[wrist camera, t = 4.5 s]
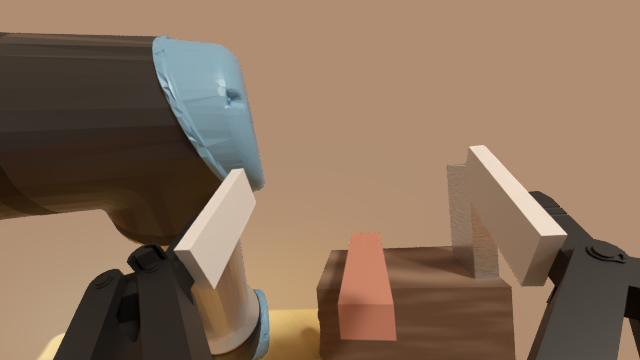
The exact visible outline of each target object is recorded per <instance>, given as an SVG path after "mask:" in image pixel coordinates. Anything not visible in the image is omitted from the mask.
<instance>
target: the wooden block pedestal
mask: <svg viewBox="0 0 640 360" xmlns="http://www.w3.org/2000/svg"><path fill="white" fill-rule="evenodd" d="M383 253H384V258H385V263H386V268H387V273H388V279H389V284H390V289H391V294H392V299H393V304H394V315H395V328H396V340H397V341H392V340H350V339H341V336H340V325H339V314H338V300H339V295H340V290H341V285H342V280H343V275H344V270H345V264H346V259H347V254H348V250H332V251H331V253H330V255H329V258H328V261H327V263H326V266H325V268H324V271H323V274H322V276H321V279H320V281H319V284H318V286H317V299H318V310H319V321H320V331H321V342H322V352H323V360H515V342H514V325H513V308H512V290H511V286H510V285H508V284H507V283H506V282H505V281H504V280H503V279H501V278H500V277H499V279H475V278H474V277H473V276H472V275H471V274H470V273H469V272H468V271H467V270H466V269H465V268H464V267H463V266H462V264H461V263H460V262H459V261H458V260H457V259H456V258H455V257H454V256H453V252H452V246H445V247H419V248H418V247H416V248H388V249H383Z"/></svg>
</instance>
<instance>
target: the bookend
mask: <svg viewBox="0 0 640 360" xmlns="http://www.w3.org/2000/svg"><path fill="white" fill-rule="evenodd" d="M465 168H466V164H458V165H447V178H448V192H449V208H450V223H451V237H452V252H453V256H454V257H455V258H456V259H457V260H458V261H459V262H460V263H461V264H462V266H463V267H464V268H465V269H466V270H467V271H468V272H469V273H470V274H471V275H472V276H473V277H474V278H475V279H499V265H498V248H497V245H496V243H495V242H494V240H493V238H492V237H491V235H490V233H489V232H488V230H487V228H486V227H485V225H484V223H483V222H482V220H481V218H480V217H479V215H478V213H477V211H476V210H475V208H474V206H473V205H472V203H471V201H470V200H469V198H468V196H467V195H466V193H465V191H464V190H463V188H462V187H463V181H464V174H465Z"/></svg>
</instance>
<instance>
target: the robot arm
mask: <svg viewBox="0 0 640 360" xmlns="http://www.w3.org/2000/svg"><path fill="white" fill-rule="evenodd" d="M264 183H265V182H264V175H263V170H262V165H261V160H260V155H259V151H258V145H257V141H256V136H255V131H254V127H253V121H252V116H251V112H250V107H249V102H248V98H247V93H246V88H245V83H244V79H243V75H242V70H241V67H240V64H239V62H238V60H237V58H236V57H235V56H234V55H233V53H232V52H231V51H229V50H228V49H227V48H225V47H223V46H221V45H218V44H215V43H205V42H195V41H183V40H175V39H173V38H171V37H168V36H164V35H163V36H159V37H153V36H112V35H73V34H72V35H71V34H33V33H2V32H0V220H3V219H11V218H18V217H26V216H34V215H49V214H58V213H68V212H76V211H85V210H95V209H102V210H104V211H106V213H107V214H108V216H109V217H110V219H111V220H112V222H113V223H114V225H115V226H116V228H117V229H118V231H119V232H120V233H121V234H122V235H123V236H124V237H126V238H127V239H129V240H130V241H132V242H135V243H137V244H140V245H143V246H141V247H139V248H138V249H136V250H135V251H134V252H133V253H132V254H131V255H130V256H129V258H128V260H127V263H128V264H129V265H130V267H131V268H132V269H133V270H134V271H135V272H134V273H130V274H127V275H123V273H122V272H121V271H120V270H119V269H112V270H108V271H106V272H104V273H102V274H100V275H99V276H97V277H96V278H95V279H94V280H93V281H92V282H91V283H90V284H89V286H88V287H87V289H86V291H85V293H84V295H83V298H82V300H81V302H80V304H79V306H78V308H77V310H76V312H75V314H74V317H73V319H72V321H71V323H70V325H69V327H68V329H67V331H66V333H65V336H64V338H63V340H62V342H61V344H60V346H59V348H58V350H57V353H56V355H55V357H54V359H53V360H258V359H261V358H262V357H264V356H265V355H266V353H267V351H268V347H269V315H268V307H267V301H266V298H265V294H264V293H263V291H262V290H260V289H258V290H255V289H252V288H251V287H250V286H248V285H247V284H246V276H245V269H244V263H243V256H242V249H241V242H240V235H241V233H242V231H243V229H244V227H245V225H246V223H247V221H248V219H249V217H250V215H251V212H252V210H253V208H254V206H255V204H256V201H255V198H254V195H253V192H254V191H256V190H260V189H261V188H263V187H264ZM462 188H463V190H464V191H465V193H466V195H467V196H468V198H469V200H470V201H471V203H472V205H473V206H474V208H475V210H476V211H477V213H478V215H479V217H480V218H481V220H482V222H483V223H484V225H485V227H486V228H487V230H488V232H489V233H490V235H491V237H492V238H493V240H494V242H495V243H496V245H497V247H498V248H499V250H500V252H501V253H502V255H503V256H504V258H505V260H506V261H507V263H508V265H509V267H510V268H511V270H512V272H513V273H514V275H515V277H516V278H517V280H518V282H519V283H520V285H521V286H544V284H545V282H546V280H547V278H548V276H549V278H550V279H551V280H552V282H553V283H554V285H555V286H554V288H553V290H552V292H551V294H550V296H549V298H548V300H547V303H548V304H547V307H546V309H545V312H544V315H543V318H542V320H541V323H540V326H539V329H538V331H537V334H536V337H535V339H534V342H533V345H532V347H531V351H530V353H529V356H528V358H527V360H617V357H618V350H619V343H620V337H621V331H622V324H623V318H624V317H626V318H629V321H630V325H631V328H632V332H633V336H634V339H635V343H636V346H637V350H638V353H639V357H640V258H634V257H630V256H628V255H627V254H626V253H625V252H624V251H623V250H621V249H619V248H618V247H617V246H615V245H612V244H610V243H607V242H605V241H600V240H596V239H593V238H592V237H591V236H590V235H589V234H588V233H587V232H586V231H585V230H584V229H583V228H582V227H581V226H579V224H578V223H576V221H575V220H573V218H571V217H570V216H569V215H567V213H566V212H565V211H564V210H563V209H562V208H560V206H559V205H558V204H557V203H556V202H555V201H554V200H553V199H552V198H550V197H549V196H547V195H545V194H543V193H541V192H539V191H534V192H527V191H526V190H525V188H524V187H523V186H522V185H521V184H520V183H519V182H518V181H517V180H516V179H515V178H514V177H513V176H512V174H511V173H510V172H509V171H508V170H507V169H506V168H505V167H504V166H503V165H502V164H501V163H500V162H499V161H498V160H497V158H496V157H495V156H494V155H493V154H492V153H491V152H490V151H489V150H488V149H487V148H486V147H485V145H481V146H470V147H469V148H468V155H467V162H466V168H465V174H464V181H463V187H462Z"/></svg>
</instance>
